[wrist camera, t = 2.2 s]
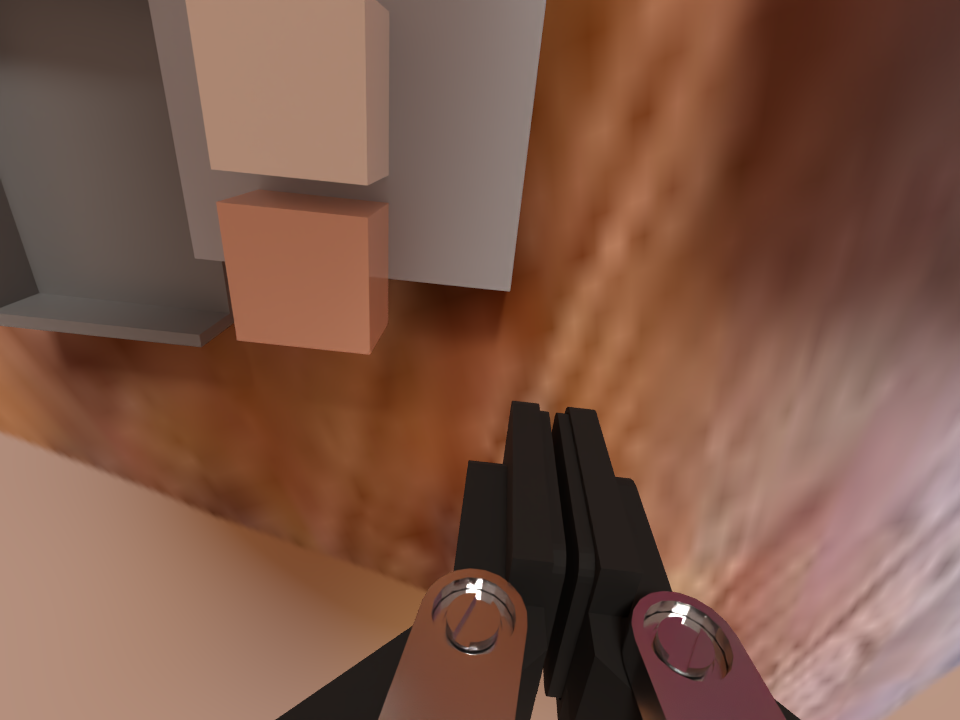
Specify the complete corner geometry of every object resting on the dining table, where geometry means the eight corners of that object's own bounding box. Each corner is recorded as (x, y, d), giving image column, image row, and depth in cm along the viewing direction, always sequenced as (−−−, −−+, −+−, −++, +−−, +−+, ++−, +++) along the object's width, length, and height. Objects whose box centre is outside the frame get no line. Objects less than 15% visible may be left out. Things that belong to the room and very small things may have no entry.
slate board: (184, -98, 17) (123, -138, 14) (550, -62, 17) (558, -95, 14) (232, 241, 23) (194, 258, 20) (510, 270, 22) (510, 291, 20)
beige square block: (236, -4, 16) (180, -28, 13) (389, 11, 16) (364, -10, 13) (255, 161, 18) (210, 169, 15) (388, 174, 18) (367, 185, 15)
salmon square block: (258, 189, 18) (215, 201, 16) (388, 202, 18) (367, 217, 16) (272, 311, 21) (237, 340, 18) (388, 323, 21) (369, 354, 18)
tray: (-79, -55, 18) (-189, -86, 15) (186, -28, 18) (124, -55, 15) (41, 299, 24) (-20, 323, 22) (237, 320, 24) (201, 347, 22)
